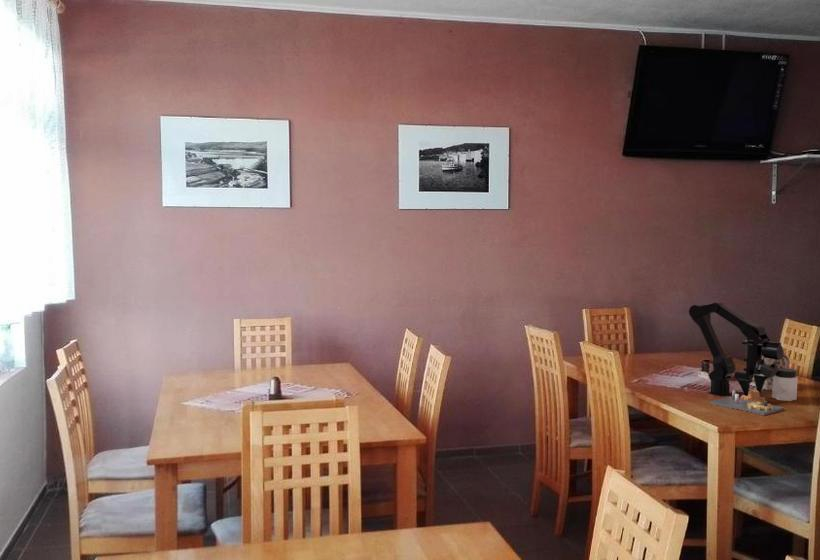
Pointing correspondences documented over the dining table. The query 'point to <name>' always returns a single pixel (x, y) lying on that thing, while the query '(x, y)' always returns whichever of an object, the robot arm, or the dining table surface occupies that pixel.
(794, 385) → the jar
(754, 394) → the loose gear
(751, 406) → the gear board
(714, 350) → the robot arm
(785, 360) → the decorative jar
